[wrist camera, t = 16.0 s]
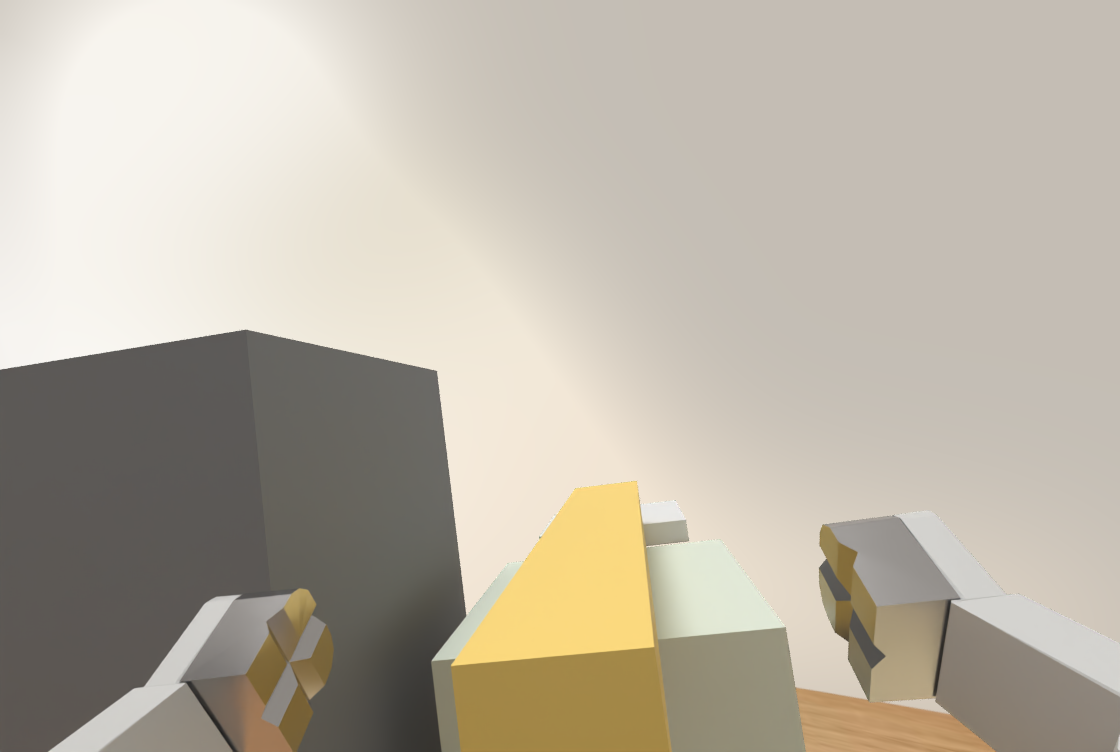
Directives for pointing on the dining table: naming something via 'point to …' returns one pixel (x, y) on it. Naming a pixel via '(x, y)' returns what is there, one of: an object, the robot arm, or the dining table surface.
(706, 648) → the sage green upright block
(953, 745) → the dining table surface
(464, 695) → the plate
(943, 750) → the dining table surface
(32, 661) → the tall stand
